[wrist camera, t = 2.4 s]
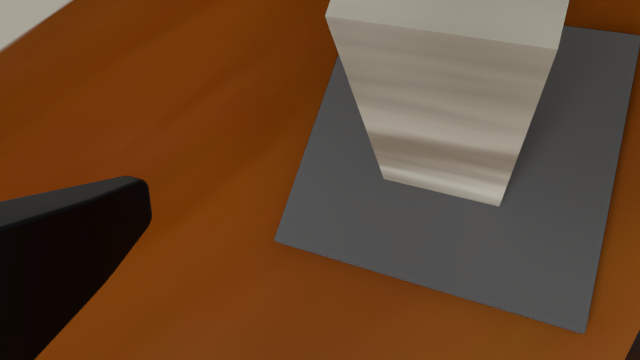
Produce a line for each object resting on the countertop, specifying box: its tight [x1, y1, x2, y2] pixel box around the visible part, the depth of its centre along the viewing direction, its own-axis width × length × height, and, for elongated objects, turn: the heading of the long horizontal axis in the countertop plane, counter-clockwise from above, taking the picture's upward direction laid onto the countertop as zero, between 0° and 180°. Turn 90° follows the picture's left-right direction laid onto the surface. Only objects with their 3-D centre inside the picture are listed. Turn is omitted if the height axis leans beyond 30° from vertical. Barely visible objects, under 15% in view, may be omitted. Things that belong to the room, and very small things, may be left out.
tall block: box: [325, 0, 569, 207], centre depth 17 cm, size 5×5×12 cm
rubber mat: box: [274, 26, 640, 334], centre depth 23 cm, size 13×13×1 cm
